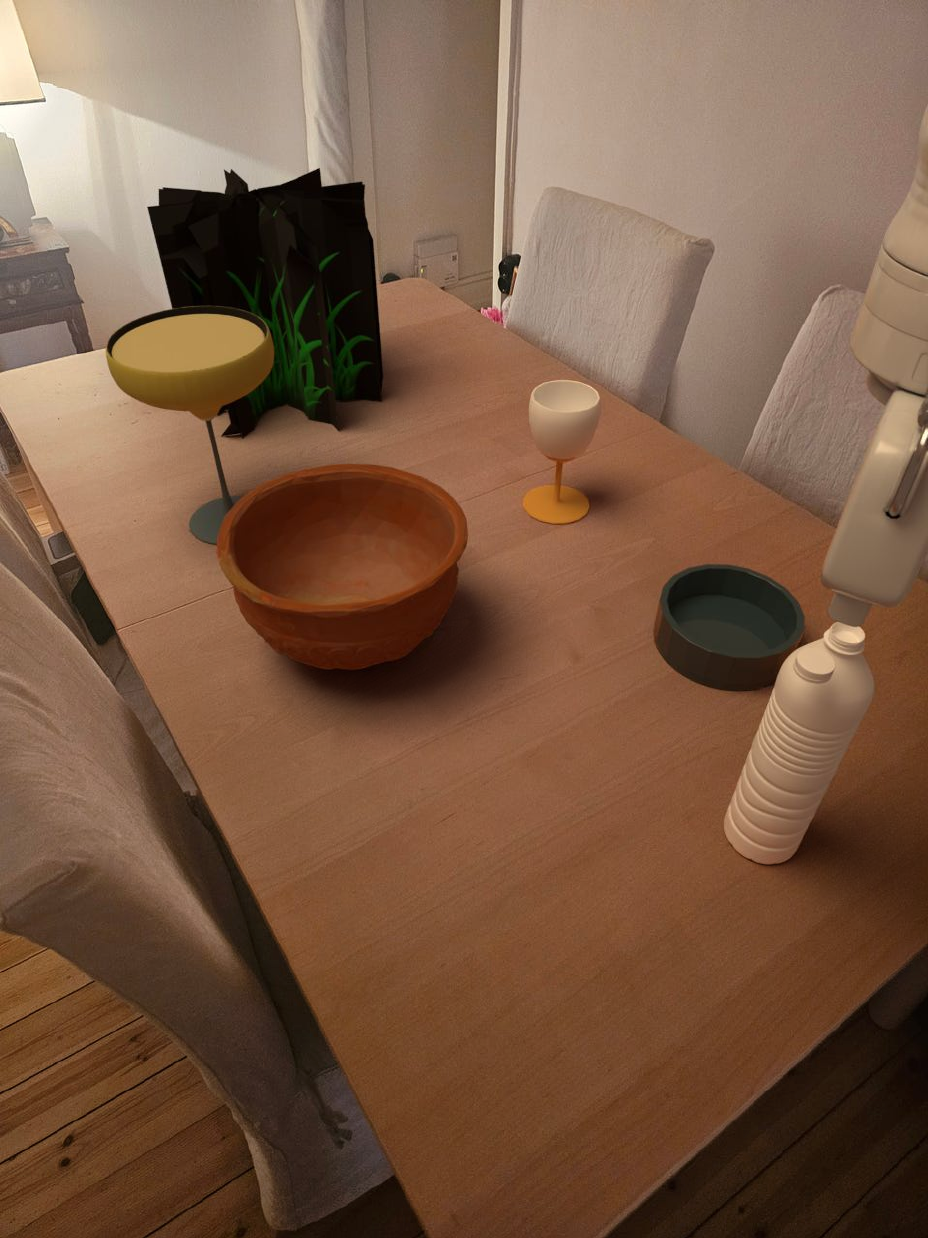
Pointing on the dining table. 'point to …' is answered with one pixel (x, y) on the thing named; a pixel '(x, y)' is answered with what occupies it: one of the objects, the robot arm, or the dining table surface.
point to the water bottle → (799, 744)
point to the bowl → (344, 562)
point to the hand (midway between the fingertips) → (863, 566)
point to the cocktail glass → (193, 374)
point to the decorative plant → (282, 285)
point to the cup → (561, 445)
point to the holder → (727, 626)
